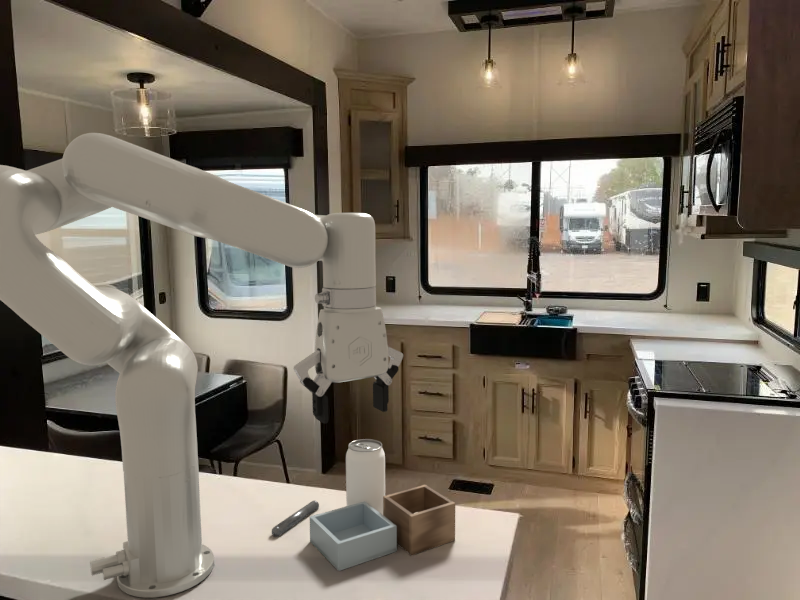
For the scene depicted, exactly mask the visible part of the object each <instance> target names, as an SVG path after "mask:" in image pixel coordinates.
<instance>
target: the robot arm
mask: <svg viewBox="0 0 800 600" xmlns="http://www.w3.org/2000/svg"><path fill="white" fill-rule="evenodd" d="M111 208H113V209H116V210H120V211H123V212H125V213H129V214H132V215H134V216H138V217H139V218H140V217H141V218H143V219H146V220H148V221H151V222H154V223H157V224H160V225H163V226H166V227H169V228H171V229H175V230H177V231H180V232H182V233H185V234H189V235H191V236H194V237H199V238H203V239H208V240H211V241H212V240H213V241H216V242H218V243H222V244H224V245H228V246H231V247H232V248H236V249H239V250H242V251H245V252H248V253H251V254H253V255H256V256H258V257H261V258H265V259H268V260H270V261H273V262H275V263H279V264H282V265H283V266H287V267H290V268H294V269H297V268H298V269H302V268H307V267H310V266H312V265H314V264H316V263H317V262H318V261H319V262H320V261H321V262H322V279H323V280H322V281H323V282H322V283H323V285H322V289H321V292H320V293H315V295H314V300H315V303H316V304H321V305H322V307H323V309H319V313H318V319H317V324H316V332H315V342H314V352H313V353H311V354H309V355H307V356H306V357H305V358H304V359H302V360H301V361H299V362H298V363H297V364H295V365H294V366H293V371H294V372H295V374H296V376H297V378H298V379H299V383H300V384H301V385H302V386H304V387H305V388H306V389H307V390H308V391H309V392H310V393H311V394H312V395H311V397H312V414H313V416H314V417H315V419H316V420H317V421H319V422H321V423H322V424H328V422H330V421H329V420H330V419H329V397H328V395H327V394H326V392H327V390H328V389H329V387H330V386H331V384H332V383H343V382H344V383H345V382H350V381H357V380H363V379H368V378H369V379H370V378H374V379H375V380H376V381H373V383H372V405H373V406H372V407H373V408H375V409H377V410H379V411H381V412H383V413H386V412H387V411H388V404H389V399H390V397H389V392H390V391H389V386H391V384H392V383H393V378H394V377H395V376H396V374H397V373H398V372H399V366H400V365H401V363H402V360H403V358H404V354H403V353H402V352H401V351H399V350H397V349H395V348H392V347H391V346H389V345H388V336H387V329H386V323H385V318H384V314H383V309H382V307H379V306H377V292H376V291H377V287H376V286H377V275H376V274H377V273H376V272H377V271H376V270H377V267H376V223H375V220H374V217H373V216H372V215H370V214H368V213H365V212H333V213H329V214H327V215H322V214H314V213H313V212H310V211H308V210H305V209H303V208H301V207H298V206H296V205H292V204H290V203H287V202H284V201H282V200H279V199H276V198H274V197H271V196H269V195H266V194H264V193H260V192H258V191H256V190H253V189H250V188H247V187H244V186H241V185H239V184H236V183H233V182H231V181H228V180H226V179H223V178H222V177H221V176H218V175H216V174H213V173H211V172H208V171H206V170H204V169H203V170H202V169H200V168H198V167H195V166H192V165H189V164H186V163H183V162H181V161H179V160H176V159H173V158H171V157H168V156H165V155H162V154H160V153H157V152H155V151H153V150H150V149H146V148H144V147H142V146H140V145H137V144H134V143H131V142H129V141H126V140H124V139H122V138H118V137H115V136H113V135H109V134H105V133H99V132H88V133H83V134H80V135H79V136H77V137H75V138H74V139H72V140H71V142H69V144H68V145H67V146H66V148H65V150H64V152H63V156H62V158H60V159H57V160H54V161H51V162H48V163H45V164H42V165H40V166H37V167H34V168H30V169H28V170H26V169H25V170H24V169H22V168H17V167H14V166H9V165H6V164H5V165H3V164H0V301H1V302H3V303H4V305H6V306H7V307H8V308H10V309H11V310H12V311H13V312H14V313H15V314H16V315H17V316H19V317H20V319H22V320H23V321H24V322H26V323H27V324H28V326H30V327H32V328H33V329H34V330H35V331H37V332H38V333H39V334H40V335H41V336H43V337H44V338H45V339H46V340H47V341H49V342H50V343H51V344H52V345H53V346H54V347H56V348H57V349H58V350H59V352H61V353H63V355H65V356H66V357H68V358H69V359H70V360H72V361H74V362H76V363H78V364H81V365H86V366H98V365H103V364H108V366H110V368H113V370H114V371H116V372H117V373H119V375H118V378H117V381H116V386H115V392H114V393H115V394H114V398H115V410H116V416H117V421H118V428H119V436H120V446H121V459H122V472H123V483H124V485H123V486H124V500H125V501H124V502H125V503H124V504H125V518H126V519H125V520H126V532H127V533H126V535H127V536H126V537H127V541H124V542H123V543H122V549H121V550H118V551H115V554H113V555H109V556H104V557H100V558H96V559H91V560H90V561H89V567H90V574H91V577H93V576H97V575H100V574H102V579H103V581H106V580H109V579H113V578H115V577H116V581H117V586H118V588H119V589H120V590H121V591H122V592H123V593H125V594H127V595H129V596H134V597H136V598H149V599H150V598H162V597H166V596H171V595H172V596H173V595H175V594H179V593H181V592H184V591H187V590H189V589H191V588H193V587H194V586H196V585H199V583H202V582H203V580H205V579H207V577H208V576H209V575H210V574H211V573H212V571H213V570H214V566H215V555H214V552H213V551H212V549H211V548H210V547H209V546H207V545H205V544H203V538H202V517H201V516H202V515H201V492H200V491H201V490H200V473H199V472H200V471H199V456H198V455H199V454H198V451H199V450H198V437H197V418H196V401H195V400H196V394H195V393H196V385H197V377H198V372H199V371H198V370H199V368H198V366H199V365H198V360H197V357H196V355H195V353H194V351H193V350H192V348H191V347H190V346H189V345H188V344H187V343H186V342H185V341H184V340H183V339H182V338H180V337H179V336H178V335H177V334H176V333H174V332H173V330H171V329H170V328H169V327H168V326H167V325H165V324H164V323H163V322H162V321H161V320H160V319H159V318H157V317H156V316H155V315H154V314H153V313H151V311H149V310H148V309H147V308H146V307H145V306H144V305H142V304H141V303H140V302H139V301H138V300H137V299H135V298H134V297H133V296H131V295H129V294H128V293H127V292H125V291H122V290H120V289H117V288H114V287H107V286H105V287H104V286H100V287H97V286H96V285H94V284H92V282H90V281H89V280H88V279H87V278H85V277H84V276H83V275H81V274H80V273H79V272H78V271H77V270H75V268H73V267H72V266H71V265H70V264H69V263H68V262H67V261H66V260H65V259H63V258H62V257H61V256H60V255H59V254H57V253H56V252H54V251H53V250H51V249H50V248H49V247H47V246H46V245H45V244H43V243H42V242H41V240H40V239H39V238H38V237H37V236H36V235H40V234H44V233H48V232H51V231H53V230H57V229H59V228H61V227H64V226H66V225H68V224H71V223H74V222H77V221H80V220H83V219H85V218H87V217H91V216H93V215H96V214H98V213H101V212H104V211H106V210H108V209H111ZM313 367H314V369H315V370H314V371H315V373H316V376H315V377H314V379H313V378H311V377H310V374H309V370H310V369H311V368H313Z"/></svg>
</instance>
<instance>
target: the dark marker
mask: <svg viewBox="0 0 800 600" xmlns="http://www.w3.org/2000/svg"><path fill="white" fill-rule="evenodd" d="M319 507H320V503H319V502H318V501H317V500H312V501H310V502H308V503H307V504H306V505H304V506H303V507H301V508H300V509H298V510H297V511H296V512H294V513H293V514H291V515H289V516H288V517H287V518H285V519H284V520H282V521H281V522H279V523H278V524H276V525H274V526H273V527H272V528H271V536H273V537H274V538H276V537H280V536H282V535H283V534H284V533H286V532H287V531H288V530H290V529H291V528H293V527H294V526H296V525H297V524H298V523H299V522H301V521H303V520H304V519H306V518H307V517H308V516H310V515H311V514H313V513H314V512H316V511H317V510H318V509H319Z"/></svg>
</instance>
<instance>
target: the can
mask: <svg viewBox="0 0 800 600" xmlns="http://www.w3.org/2000/svg"><path fill="white" fill-rule="evenodd" d="M385 455H386V454H385V451H384V448H383V443H382V442H381V441H380V440H377V439H371V438H365V439H364V438H363V439H356V440H353V441H351V442H349V443H348V449H347V451H346V452H345V482H346V483H345V488H346V493H345V494H346V495H345V496H346V497H345V498H346V506H349V505H353V504H357V503H360V502H364V501H365V502H366V503H368V504H369V505H370V506H372V507H373V508H374V509H375V510H377V511H378V512H379V513H381V514H382V515H383V496H386V456H385Z"/></svg>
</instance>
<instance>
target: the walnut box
mask: <svg viewBox="0 0 800 600" xmlns="http://www.w3.org/2000/svg"><path fill="white" fill-rule="evenodd" d="M416 512H418V513H416ZM383 516H385V517H386V518H387V519H388V520H390V521H391V522H392V523H394V524H395V525H396V526H397V545H398V546H399V547H400V548H402V549H403V550H404V551H405V552H406V553H408V555H410V556H415V555H417V554H421V553H423V552H427V551H429V550H432V549H434V548H437V547H441V546H442V545H443V546H444V545H446V544H448V543H452V542H454V541H456V502H455V501H453V500H451V499H449V497H448V498H447V497H446V496H445V495H443V494H441V493H440V492H438V491H436V490H435V489H433V488H432V487H430V486H428V485H427V484H422V485H419V486H415V487H412V488H409V489H408V488H407V489H405V490H401V491H397V492H393V493H389V494H385V496H383Z"/></svg>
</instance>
